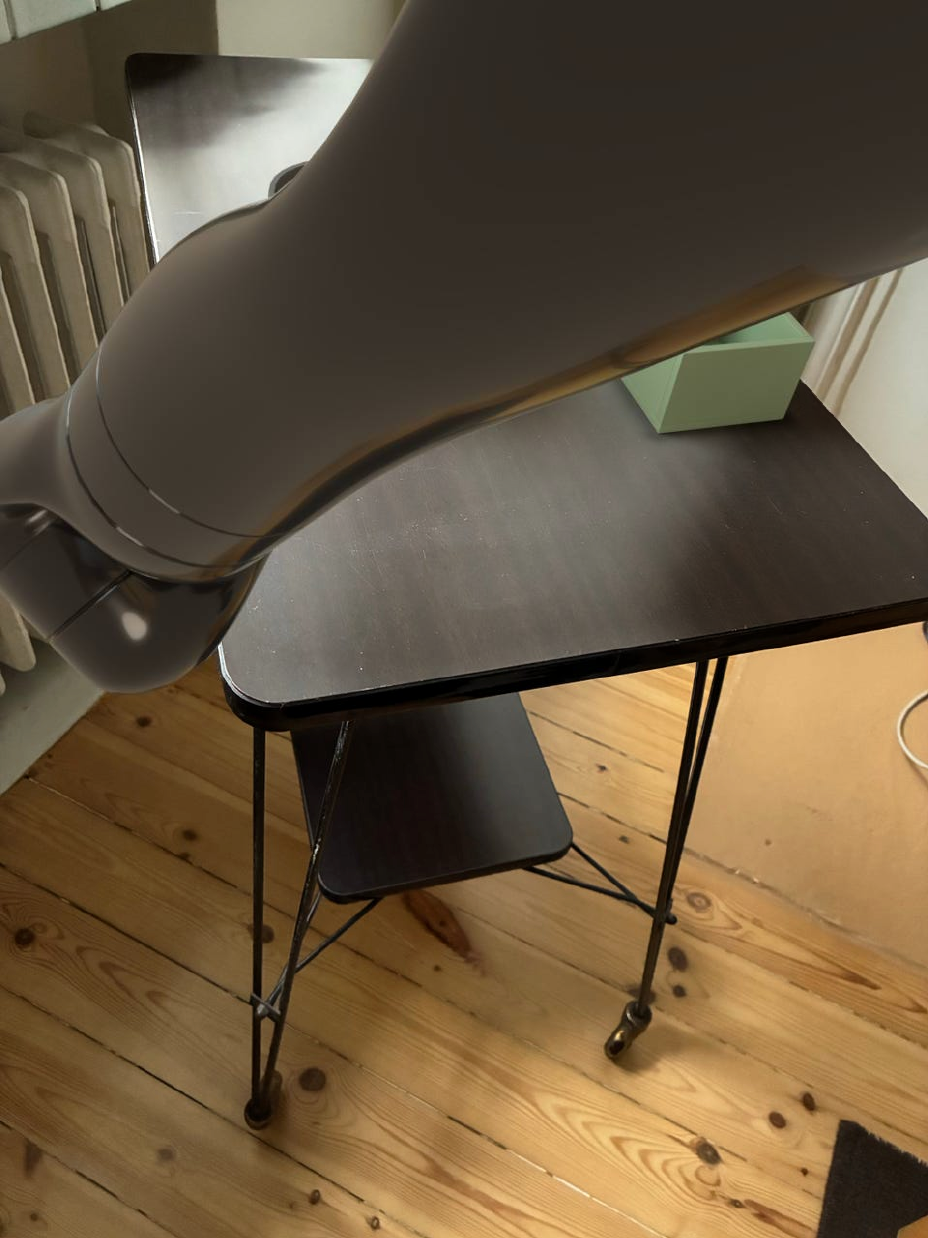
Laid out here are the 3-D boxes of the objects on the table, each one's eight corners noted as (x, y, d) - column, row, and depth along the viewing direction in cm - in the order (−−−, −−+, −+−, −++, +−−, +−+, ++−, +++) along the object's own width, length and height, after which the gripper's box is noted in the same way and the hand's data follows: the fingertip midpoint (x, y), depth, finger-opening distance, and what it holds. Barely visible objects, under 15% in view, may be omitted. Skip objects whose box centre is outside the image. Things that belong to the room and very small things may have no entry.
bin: (782, 419, 86) (816, 341, 80) (658, 433, 82) (683, 353, 77) (718, 340, 93) (744, 263, 87) (601, 350, 90) (621, 272, 84)
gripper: (514, 328, 40) (665, 191, 51) (232, 213, 44) (427, 107, 54) (490, 471, 46) (631, 321, 56) (242, 358, 49) (417, 237, 60)
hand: (530, 216), depth 55 cm, fingers closed on ink cartridge box, 6 cm apart
